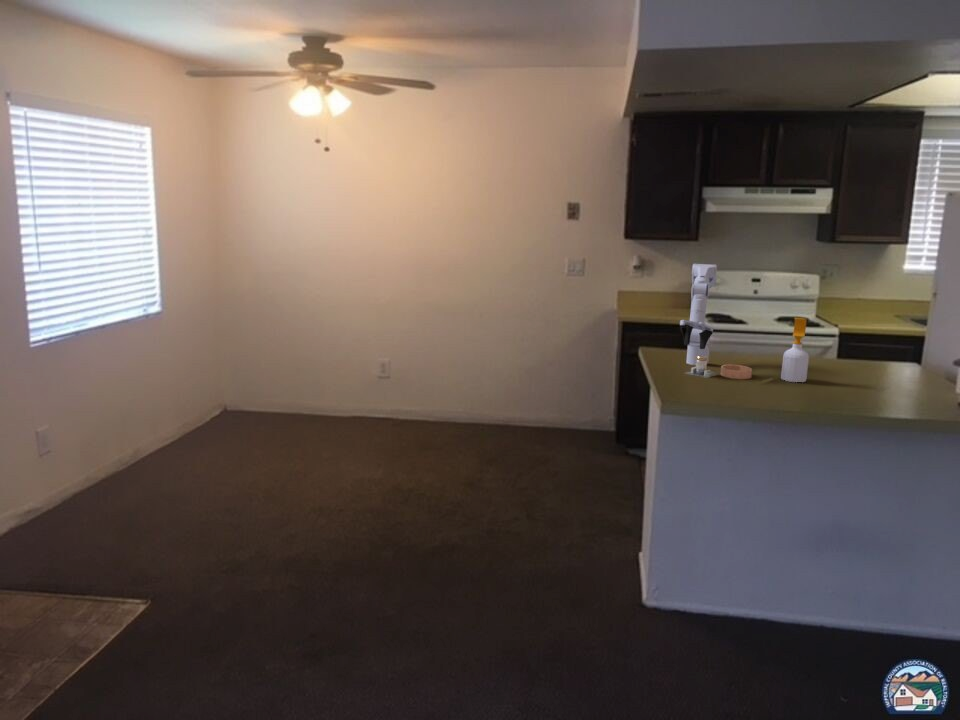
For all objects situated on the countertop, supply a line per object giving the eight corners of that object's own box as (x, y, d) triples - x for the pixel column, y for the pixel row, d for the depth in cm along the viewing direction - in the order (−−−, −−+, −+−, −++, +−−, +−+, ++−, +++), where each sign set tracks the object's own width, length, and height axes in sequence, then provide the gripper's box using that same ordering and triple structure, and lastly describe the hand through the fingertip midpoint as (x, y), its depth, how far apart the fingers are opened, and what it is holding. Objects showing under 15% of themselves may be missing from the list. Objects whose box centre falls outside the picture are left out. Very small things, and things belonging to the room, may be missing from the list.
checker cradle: (694, 372, 289) (695, 365, 289) (717, 377, 282) (717, 369, 281) (683, 375, 284) (683, 368, 283) (706, 380, 277) (706, 372, 276)
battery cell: (698, 372, 286) (700, 354, 284) (707, 374, 283) (709, 356, 281) (693, 373, 283) (694, 356, 281) (702, 375, 280) (703, 358, 278)
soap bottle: (779, 381, 278) (786, 317, 273) (782, 376, 286) (789, 314, 281) (804, 384, 274) (812, 320, 269) (806, 379, 282) (814, 316, 277)
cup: (729, 373, 289) (730, 363, 289) (756, 378, 281) (757, 368, 281) (714, 377, 282) (715, 367, 281) (741, 382, 274) (742, 372, 273)
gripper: (689, 307, 276) (686, 342, 274) (719, 315, 282) (716, 349, 279) (677, 310, 283) (674, 343, 281) (707, 318, 288) (703, 351, 286)
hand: (694, 346), depth 280 cm, fingers open, 7 cm apart
